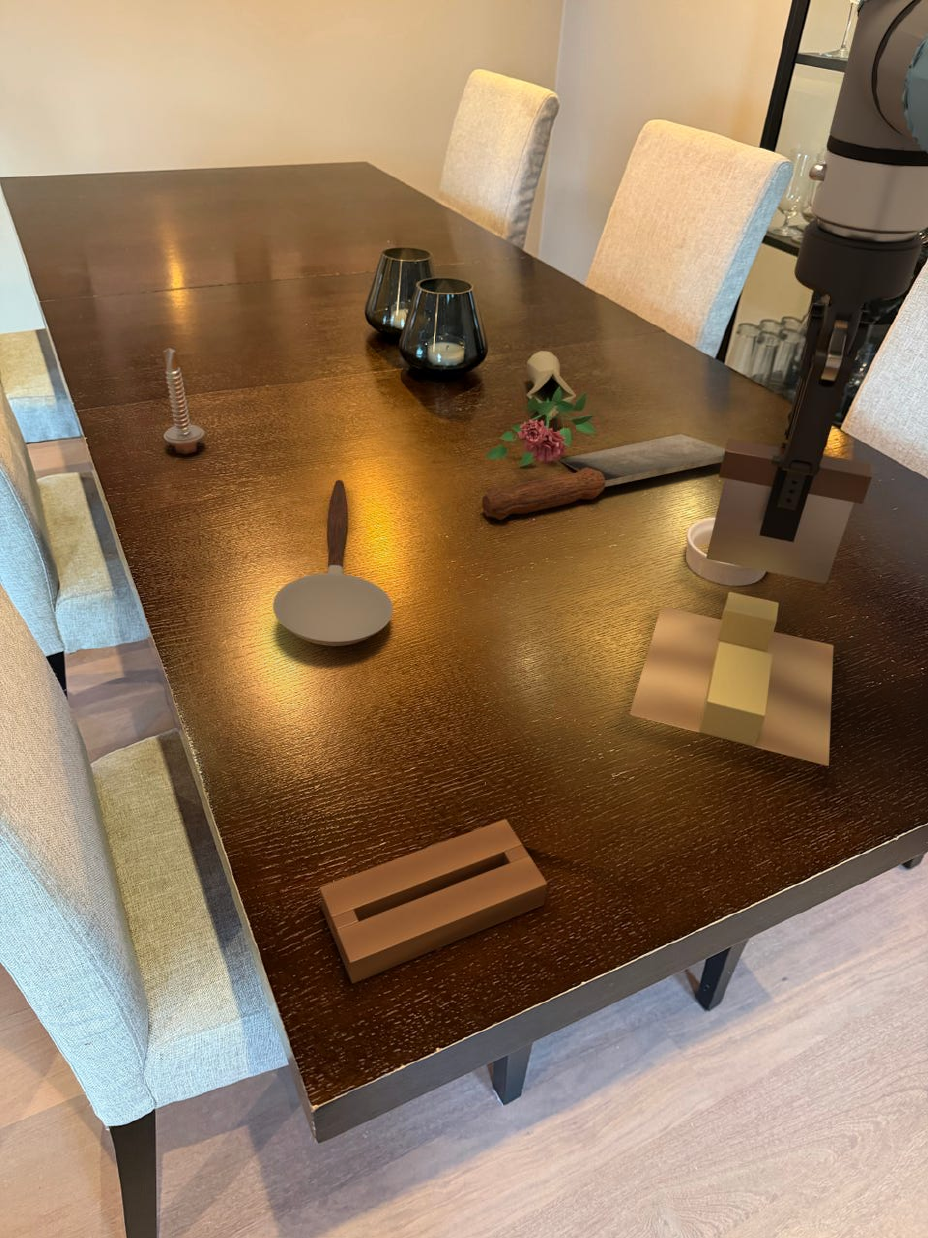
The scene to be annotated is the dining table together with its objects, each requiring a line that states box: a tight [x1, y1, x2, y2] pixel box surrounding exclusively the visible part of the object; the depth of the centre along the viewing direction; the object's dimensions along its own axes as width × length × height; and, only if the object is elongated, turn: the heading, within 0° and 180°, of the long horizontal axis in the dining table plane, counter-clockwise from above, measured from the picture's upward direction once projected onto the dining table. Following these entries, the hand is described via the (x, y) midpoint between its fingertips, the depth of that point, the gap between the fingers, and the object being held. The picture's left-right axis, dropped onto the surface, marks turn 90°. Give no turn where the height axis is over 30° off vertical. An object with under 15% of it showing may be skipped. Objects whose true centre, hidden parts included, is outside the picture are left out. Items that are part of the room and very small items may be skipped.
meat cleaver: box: [481, 433, 726, 521], centre depth 108 cm, size 34×11×4 cm, turn 116°
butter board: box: [629, 606, 834, 767], centre depth 79 cm, size 16×16×2 cm
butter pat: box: [718, 591, 780, 651], centre depth 82 cm, size 3×4×4 cm, turn 71°
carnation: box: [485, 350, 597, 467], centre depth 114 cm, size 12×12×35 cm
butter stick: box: [699, 642, 772, 747], centre depth 74 cm, size 8×4×4 cm, turn 161°
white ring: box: [685, 517, 767, 587], centre depth 92 cm, size 9×9×4 cm
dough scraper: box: [706, 438, 873, 585], centre depth 73 cm, size 2×11×11 cm, turn 71°
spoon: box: [272, 479, 394, 647], centre depth 92 cm, size 11×33×3 cm, turn 5°
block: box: [319, 818, 548, 985], centre depth 60 cm, size 6×14×2 cm, turn 116°
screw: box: [163, 347, 206, 455], centre depth 107 cm, size 13×5×5 cm
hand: (778, 526), depth 74 cm, fingers closed on dough scraper, 2 cm apart
